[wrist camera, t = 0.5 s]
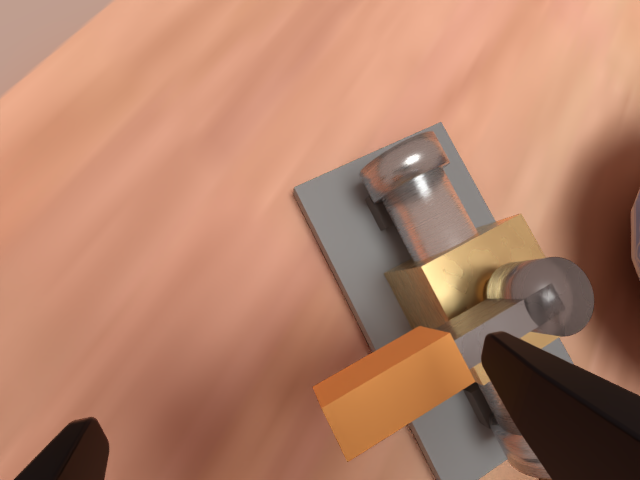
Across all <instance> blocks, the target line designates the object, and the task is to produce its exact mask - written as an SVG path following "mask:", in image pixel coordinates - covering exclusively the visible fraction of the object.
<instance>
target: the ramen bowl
mask: <svg viewBox="0 0 640 480" xmlns="http://www.w3.org/2000/svg"><path fill="white" fill-rule="evenodd" d="M631 259H632V261H633V264H634V267H635V269H636V272H637V275H638V277H639V280H640V189H639V191H638V194H637V197H636V199H635V202H634V204H633V207H632V210H631Z"/></svg>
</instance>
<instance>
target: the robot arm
mask: <svg viewBox="0 0 640 480" xmlns="http://www.w3.org/2000/svg"><path fill="white" fill-rule="evenodd" d="M481 363H482V366H483V368H484V370H485V372H486V374H487V376H488V377H489V379H490V381H491V383H492V385H493V386H494V388H495V390H496V392H497V394H498V395H499V397H500V399H501V401H502V403H503V404H504V406H505V408H506V410H507V412H508V413H509V415H510V417H511V419H512V420H513V422H514V424H515V425H516V427H517V429H518V430H519V432H520V433H521V435H522V436H523V438H524V439H525V441H526V442H527V444H528V445H529V447H530V448H531V449H532V451H533V452H534V454H535V455H536V457H537V458H538V460H539V461H540V463H541V464H542V466H543V467H544V469H545V470H546V472H547V473H548V474H549V476H550V477H551V479H552V480H640V396H639V395H637V394H635V393H632V392H630V391H628V390H626V389H624V388H622V387H620V386H618V385H616V384H614V383H611V382H609V381H607V380H605V379H603V378H601V377H599V376H597V375H595V374H593V373H591V372H588V371H586V370H584V369H582V368H580V367H578V366H576V365H574V364H572V363H570V362H567V361H565V360H563V359H561V358H559V357H557V356H555V355H553V354H551V353H549V352H547V351H544V350H542V349H540V348H538V347H536V346H534V345H532V344H530V343H528V342H526V341H524V340H521V339H519V338H517V337H515V336H513V335H511V334H509V333H507V332H504V331H498V332H493V333H489V334H487V335H486V336H485V339H484V344H483V349H482V354H481ZM108 455H109V442H108V439H107V437H106V436H105V434H104V432H103V430H102V428H101V426H100V424H99V423H98V421H97V419H96V418H94V417H88V418H84V419H79V420H75V421H72V422H71V423H69V424H68V425H67V426H66V427H65V428H64V429H63V430H62V431H61V432H60V433H59V434H58V435H57V436H56V437H55V438H54V439H53V440H52V441H51V442H50V443H49V444H48V445H47V446H46V447H45V448H44V449H43V450H42V451H41V452H40V453H39V454H38V455H37V456H36V457H35V458H34V459H33V460H32V461H31V462H30V463H29V464H28V465H27V466H26V468H25V469H24V470H23V471H22V472H21V473H20V474H19V475H18V476H17V477H16V478H15V479H14V480H104V478H105V472H106V467H107V461H108Z"/></svg>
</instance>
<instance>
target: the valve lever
mask: <svg viewBox="0 0 640 480" xmlns="http://www.w3.org/2000/svg"><path fill="white" fill-rule="evenodd" d="M593 309H594V294H593V289H592V286H591V283H590V281H589V279H588V278H587V276H586V274H585V273H584V272H583V271H582V270H581V269H580V268H579V267H578V266H577V265H576V264H575V263H573V262H571V261H569V260H567V259H564V258H560V257H549V258H541V259H534V260H526V261H518V262H510V263H506V264H504V265H502V266H500V267H499V268H498V269H496V270H495V272H494V273H493V274H492V276H491V278H490V280H489V283H488V287H487V299H486V300H484V301H482V302H480V303H479V304H477V305H475V306H474V307H472V308H470V309H468V310H467V311H465V312H463V313H461V314H460V315H458V316H456V317H455V318H453V319H451V320H449V321H448V322H446V323H444V324H442V325H441V326H439V327H437V328H435V329H431V328H427V327H422V326H418V327H416V328H415V329H413V330H411V331H409V332H408V333H406V334H404V335H402V336H401V337H399V338H397V339H395V340H394V341H392V342H390V343H388V344H387V345H385V346H383V347H381V348H380V349H378V350H376V351H374V352H373V353H371V354H369V355H367V356H366V357H364V358H362V359H360V360H359V361H357V362H355V363H353V364H352V365H350V366H348V367H346V368H345V369H343V370H341V371H339V372H338V373H336V374H334V375H332V376H331V377H329V378H327V379H325V380H324V381H322V382H320V383H318V384H317V385H315V386H313V389H314V392H315V394H316V396H317V399H318V401H319V404H320V406H321V408H322V410H323V413H324V415H325V417H326V419H327V421H328V423H329V425H330V427H331V429H332V431H333V433H334V435H335V437H336V440H337V442H338V444H339V446H340V448H341V450H342V452H343V454H344V456H345V458H346V460H347V462H349V461H350V460H352V459H353V458H355V457H357V456H358V455H360V454H361V453H363V452H365V451H366V450H368V449H369V448H371V447H372V446H374V445H376V444H377V443H379V442H380V441H382V440H384V439H385V438H387V437H388V436H390V435H392V434H393V433H395V432H396V431H398V430H399V429H401V428H403V427H404V426H406V425H407V424H409V423H411V422H412V421H414V420H415V419H417V418H419V417H420V416H422V415H423V414H425V413H426V412H428V411H430V410H431V409H433V408H434V407H436V406H438V405H439V404H441V403H442V402H444V401H446V400H447V399H449V398H450V397H452V396H453V395H455V394H457V393H458V392H460V391H461V390H463V389H465V388H466V387H468V386H469V385H471V384H473V383H474V382H475V380H474V378H473V376H472V374H471V372H470V370H469V369H471V368H472V367H474V366H476V365H477V364H479V363H481V354H482V349H483V344H484V339H485V336H486V335H487V334H489V333H493V332H498V331H504V332H507V333H509V334H511V335H513V336H515V337H517V338H521V337H523V336H524V335H526V334H527V333H529V332H534V333H541V334H548V335H554V336H570V335H573V334H576V333H577V332H579V331H581V330H582V329H583V328H584V327H585V326H586V325H587V323H588V322H589V320H590V318H591V316H592V313H593Z"/></svg>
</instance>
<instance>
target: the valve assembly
mask: <svg viewBox="0 0 640 480" xmlns="http://www.w3.org/2000/svg"><path fill="white" fill-rule="evenodd" d="M293 195H294V197H295V199H296V201H297V203H298V205H299V207H300V209H301V211H302V213H303V215H304V217H305V219H306V221H307V223H308V225H309V227H310V229H311V231H312V233H313V235H314V237H315V239H316V241H317V243H318V245H319V247H320V249H321V251H322V253H323V255H324V257H325V259H326V261H327V263H328V265H329V267H330V269H331V271H332V273H333V275H334V277H335V279H336V281H337V283H338V285H339V287H340V289H341V291H342V293H343V295H344V297H345V299H346V301H347V303H348V305H349V307H350V309H351V311H352V313H353V315H354V317H355V319H356V321H357V323H358V325H359V327H360V329H361V331H362V333H363V335H364V337H365V339H366V341H367V343H368V345H369V347H370V349H371V351H372V352H374V351H376V350H378V349H380V348H381V347H383V346H385V345H387V344H388V343H390V342H392V341H394V340H395V339H397V338H399V337H401V336H402V335H404V334H406V333H408V332H409V331H411V330H413V329H415V328H416V327H418V326H422V327H427V328H431V329H435V328H437V327H439V326H441V325H442V324H444V323H446V322H448V321H449V320H451V319H453V318H455V317H456V316H458V315H460V314H461V313H463V312H465V311H467V310H468V309H470V308H472V307H474V306H475V305H477V304H479V303H480V302H482V301H484V300H486V299H487V287H488V283H489V280H490V278H491V276H492V274H493V273H494V272H495V270H496V269H498V268H499V267H500V266H502V265H504V264H506V263H510V262H518V261H526V260H534V259H541V258H546V257H545V256H544V254H543V252H542V250H541V248H540V247H539V245H538V243H537V241H536V239H535V238H534V236H533V234H532V232H531V230H530V229H529V227H528V225H527V223H526V221H525V219H524V218H523V216H522V214H518V215H515V216H512V217H509V218H505V219H502V220H499V221H495V220H494V218H493V216H492V214H491V212H490V210H489V209H488V207H487V205H486V203H485V201H484V199H483V198H482V196H481V194H480V192H479V190H478V188H477V187H476V185H475V183H474V181H473V179H472V178H471V176H470V174H469V172H468V170H467V168H466V167H465V165H464V163H463V161H462V159H461V157H460V156H459V154H458V152H457V150H456V148H455V146H454V145H453V143H452V141H451V139H450V137H449V135H448V134H447V132H446V130H445V128H444V126H443V125H442V123H441V122H440V123H438V124H435V125H433V126H431V127H429V128H426V129H424V130H422V131H420V132H417V133H415V134H413V135H411V136H408V137H406V138H404V139H402V140H399V141H397V142H395V143H393V144H390V145H388V146H386V147H384V148H381V149H379V150H377V151H375V152H372V153H370V154H368V155H366V156H363V157H361V158H359V159H357V160H354V161H352V162H350V163H348V164H345V165H343V166H341V167H339V168H337V169H334V170H332V171H330V172H328V173H325V174H323V175H321V176H319V177H316V178H314V179H312V180H310V181H307V182H305V183H303V184H301V185H298V186H296V187H294V191H293ZM559 337H561V336H554V335H548V334H541V333H534V332H529V333H527V334H526V335H524V336H523V337H521V338H519V339H521V340H524V341H526V342H528V343H530V344H532V345H534V346H536V347H538V348H540V349H542V350H544V351H547V352H549V353H551V354H553V355H555V356H557V357H559V358H561V359H563V360H565V361H567V362H570V363H572V364H573V362H572V360H571V358H570V357H569V355H568V353H567V351H566V349H565V347H564V346H563V344H562V342H561V340H560V338H559ZM469 370H470V372H471V374H472V376H473V378H474V380H475V382H474V383H473V384H471V385H469V386H468V387H466V388H465V389H463V390H461V391H460V392H458V393H457V394H455V395H453V396H452V397H450V398H449V399H447V400H446V401H444V402H442V403H441V404H439V405H438V406H436V407H434V408H433V409H431V410H430V411H428V412H426V413H425V414H423V415H422V416H420V417H419V418H417V419H415V420H414V421H412V422H411V423H409V426H410V428H411V430H412V432H413V434H414V436H415V438H416V440H417V442H418V444H419V446H420V448H421V450H422V452H423V454H424V456H425V458H426V460H427V462H428V464H429V466H430V468H431V470H432V472H433V474H434V476H435V478H436V480H478V479H480V478H481V477H483V476H484V475H485V474H487V473H488V472H490V471H491V470H493V469H494V468H495V467H497V466H498V465H500V464H501V463H503V462H504V461H506V460H508V462H509V463H510V464H511V465H512V466H513V467H514V468H515V469H516V470H518V471H520V472H521V473H524V474H526V475H529V476H532V477H537V478H548V479H551V477H550V476H549V474H548V473H547V472H546V470H545V469H544V467H543V466H542V464H541V463H540V461H539V460H538V458H537V457H536V455H535V454H534V452H533V451H532V449H531V448H530V447H529V445H528V444H527V442H526V441H525V439H524V438H523V436H522V435H521V433H520V432H519V430H518V429H517V427H516V425H515V424H514V422H513V420H512V419H511V417H510V415H509V413H508V412H507V410H506V408H505V406H504V404H503V403H502V401H501V399H500V397H499V395H498V394H497V392H496V390H495V388H494V386H493V385H492V383H491V381H490V379H489V377H488V376H487V374H486V372H485V370H484V368H483V366H482V363H479V364H477V365H476V366H474V367H472V368H471V369H469Z"/></svg>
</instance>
